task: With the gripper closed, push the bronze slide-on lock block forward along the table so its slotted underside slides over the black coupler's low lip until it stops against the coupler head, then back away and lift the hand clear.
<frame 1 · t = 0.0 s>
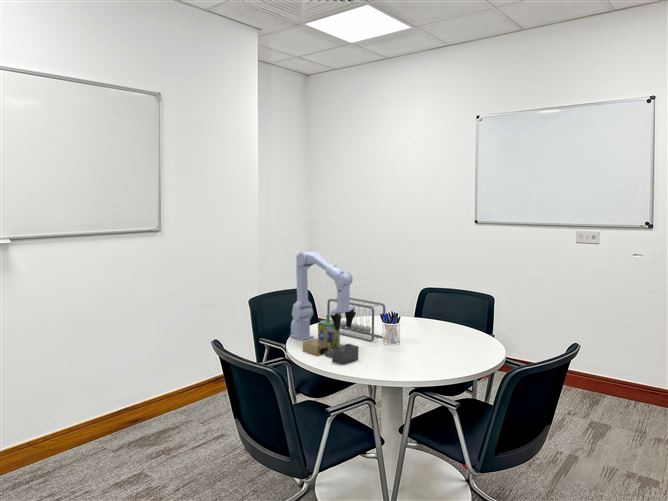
hand: (343, 328, 236), 10 cm above the table, tool pointing down, fingers open, 7 cm apart
green multicoloured upright block: (329, 345, 243), on the table
coupler: (340, 359, 223), on the table
lock: (316, 351, 233), on the table
newton's cradle: (355, 335, 262), on the table
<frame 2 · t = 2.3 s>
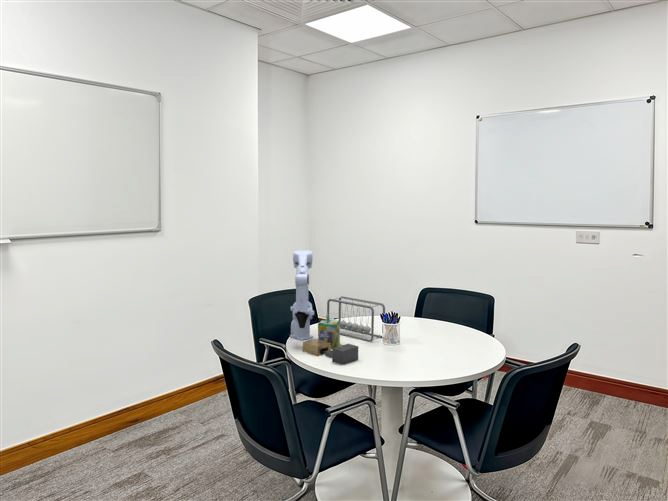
hand: (302, 327, 239), 9 cm above the table, tool pointing down, fingers closed
nothing on the table moved.
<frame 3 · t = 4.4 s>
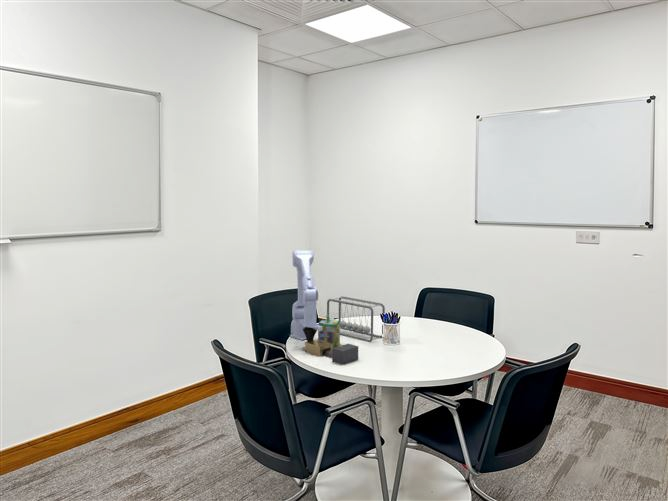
hand: (310, 343, 236), 3 cm above the table, tool pointing down, fingers closed
lock: (319, 352, 232), on the table, touching gripper
everything else where it was.
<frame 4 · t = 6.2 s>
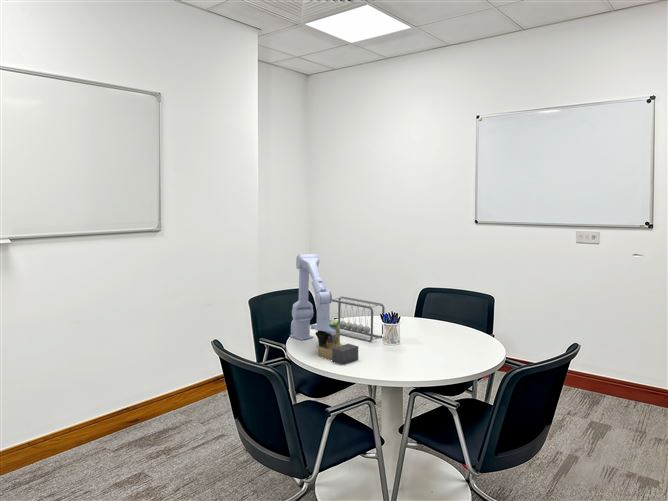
hand: (322, 347, 230), 3 cm above the table, tool pointing down, fingers closed
lock: (332, 356, 227), resting in coupler, touching gripper
everything else where it was.
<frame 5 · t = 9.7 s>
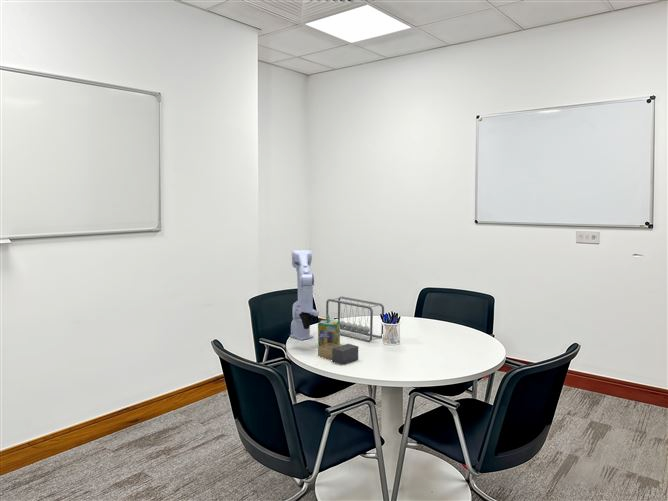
hand: (306, 328, 237), 9 cm above the table, tool pointing down, fingers closed
lock: (332, 356, 227), resting in coupler
everything else where it was.
at the end: lock 0.2 cm from the target spot on the coupler, point 0.0 cm above the coupler's base; lock tilted 0° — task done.
